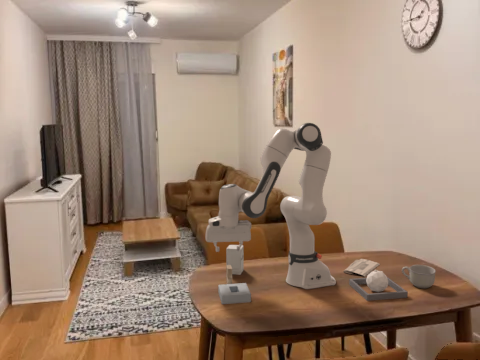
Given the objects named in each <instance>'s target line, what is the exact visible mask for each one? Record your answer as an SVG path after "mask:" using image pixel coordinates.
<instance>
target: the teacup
mask: <svg viewBox="0 0 480 360" xmlns="http://www.w3.org/2000/svg"><path fill="white" fill-rule="evenodd" d="M405 270H407V271H408V273H409V274H407V273H406V272H405ZM436 271H437V270H436V269H435V268H434V267H432V266H429V265H426V264H413V265H411V266H403V267H402V268H401V273H402V274H403V276H405V277H406V278H407V279H408V280H409V282H410V283H411V284H412V285H413V286H414V287H415V288H418V289H428V288H431V287H432V286H433V285H434V284H435V280H436V279H435V278H436Z"/></svg>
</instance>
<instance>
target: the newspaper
mask: <svg viewBox="0 0 480 360" xmlns="http://www.w3.org/2000/svg"><path fill="white" fill-rule="evenodd" d="M380 265H381V263H379V262H376V261H373V260H370V259H366V258H365V259H364V258H360V259H355V260H354V261H353V262H352V263H350V264H349V265H348V267H346V268H345V269H344V270H343V273H345V274H349V275H353V274H354V273H355V274H358V275H361V276H363V278H366V277H367V275H369V274H370V273H371V272H373V271H374V270H376V269H377V268H378V267H379V266H380Z"/></svg>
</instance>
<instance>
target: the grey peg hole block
mask: <svg viewBox="0 0 480 360" xmlns="http://www.w3.org/2000/svg"><path fill="white" fill-rule="evenodd" d="M217 288H218V289H217V290H218V292H217V293H218V296H219V300H220V303H221V305H227V304H228V305H229V304H231V305H232V304H242V303H251V302H252V293H251V291H250V289H249V287H248V284H247V282H242V283H241V282H240V283H232V284H227V283H226V284H223V283H222V284H218V286H217Z"/></svg>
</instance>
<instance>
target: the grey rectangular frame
mask: <svg viewBox="0 0 480 360" xmlns="http://www.w3.org/2000/svg"><path fill="white" fill-rule="evenodd" d="M387 278H388V281H389V282H388V286H389V287H390V288H391V289H393V290H394V291H389V292H374V293H368V292H367V291H366V290H365V289H364V288H363V287H361V285H367V283H366V279H367V277H361V278H360V277H358V278H349V279H348V285H349V286H350V287H351V288H352V289H353V290H354V291H356V292H357V293H358V294H359V295H360V296H361V297H362V298H363V299H365V301H367V302H368V301H379V300H380V301H381V300H392V299H393V300H394V299H408V294H409V293H408V291H407V290H406V289H405V288H403V287H402V286H401V285H399V284H397V283H396V282H394V280H392V279H391V278H389V276H387Z"/></svg>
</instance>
